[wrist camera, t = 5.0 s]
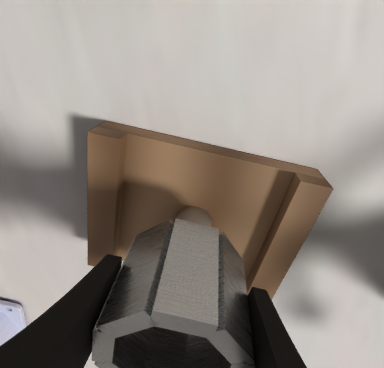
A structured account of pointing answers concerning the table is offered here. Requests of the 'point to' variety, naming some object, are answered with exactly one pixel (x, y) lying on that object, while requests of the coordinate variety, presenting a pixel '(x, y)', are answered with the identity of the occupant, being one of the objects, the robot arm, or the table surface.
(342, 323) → the table surface
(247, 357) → the tube
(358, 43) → the table surface
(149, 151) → the shaft block
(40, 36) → the table surface
